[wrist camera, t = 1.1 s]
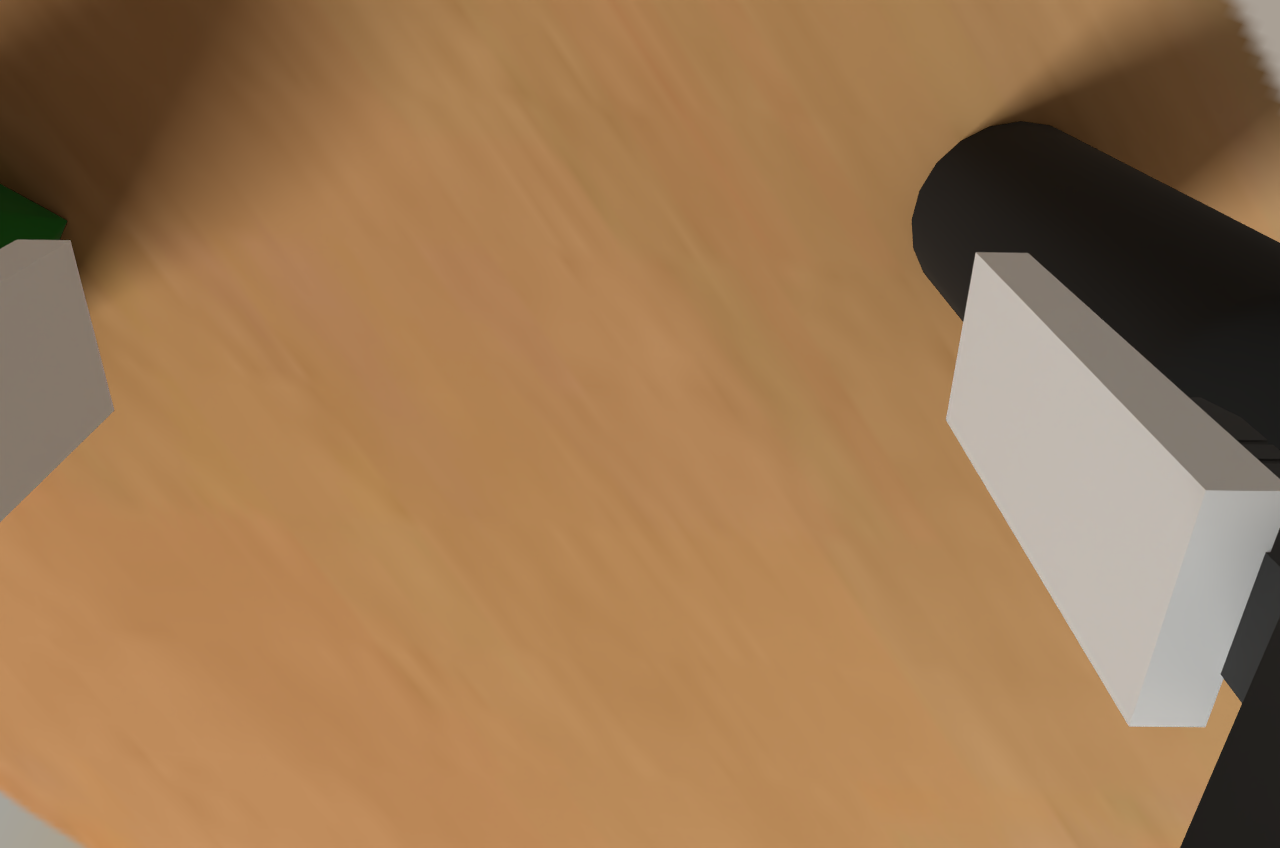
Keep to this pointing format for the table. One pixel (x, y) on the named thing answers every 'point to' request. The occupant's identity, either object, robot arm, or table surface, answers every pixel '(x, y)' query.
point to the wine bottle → (1115, 257)
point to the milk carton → (26, 219)
